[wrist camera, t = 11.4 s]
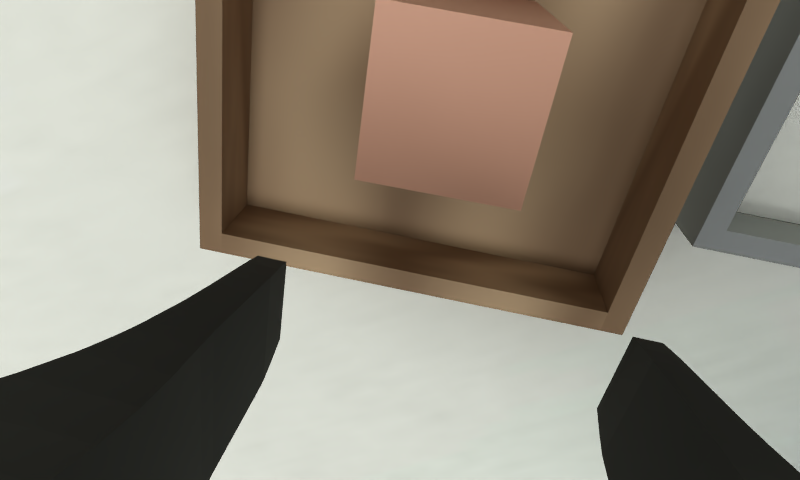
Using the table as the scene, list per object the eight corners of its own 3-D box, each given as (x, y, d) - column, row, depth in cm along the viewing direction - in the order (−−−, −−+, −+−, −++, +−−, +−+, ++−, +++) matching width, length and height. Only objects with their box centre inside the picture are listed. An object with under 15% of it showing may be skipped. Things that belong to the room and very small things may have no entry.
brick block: (536, 1, 17) (572, 33, 11) (504, 125, 19) (520, 211, 13) (410, -21, 17) (376, -3, 11) (392, 104, 19) (354, 179, 13)
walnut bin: (808, -188, 14) (883, -217, 12) (604, 288, 22) (622, 334, 19) (238, -292, 15) (189, -344, 12) (232, 212, 22) (200, 247, 20)
